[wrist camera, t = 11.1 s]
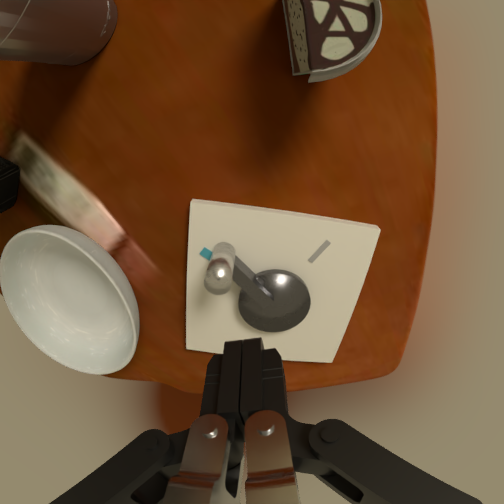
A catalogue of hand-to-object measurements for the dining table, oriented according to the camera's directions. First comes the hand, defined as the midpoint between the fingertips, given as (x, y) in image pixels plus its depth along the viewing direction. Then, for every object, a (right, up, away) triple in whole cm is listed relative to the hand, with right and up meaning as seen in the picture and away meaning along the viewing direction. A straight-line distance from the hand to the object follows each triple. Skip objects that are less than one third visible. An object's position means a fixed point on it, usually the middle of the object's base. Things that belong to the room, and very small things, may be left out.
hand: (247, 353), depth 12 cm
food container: (+7, +25, +11) cm, 28 cm away
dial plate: (+3, 0, +23) cm, 23 cm away
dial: (+1, +1, +21) cm, 21 cm away
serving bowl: (-22, 0, +24) cm, 33 cm away
